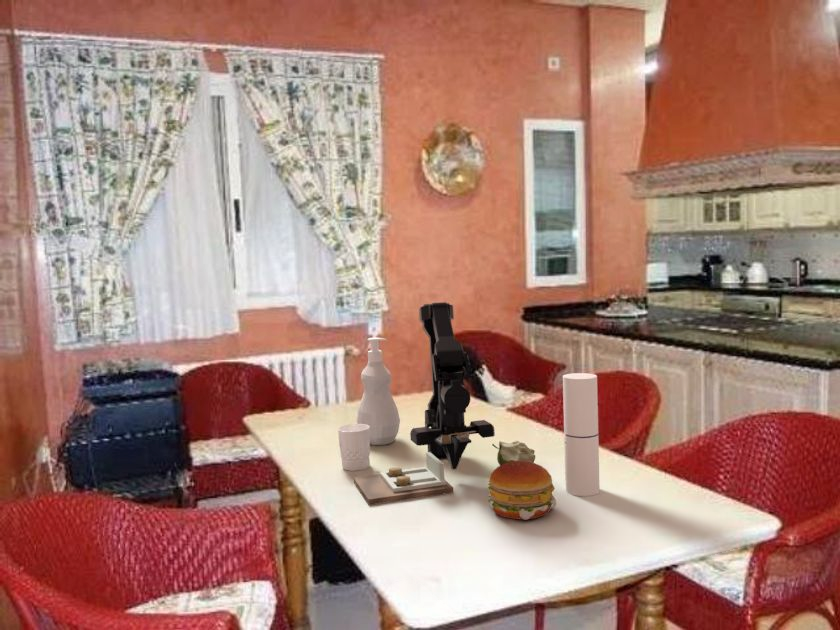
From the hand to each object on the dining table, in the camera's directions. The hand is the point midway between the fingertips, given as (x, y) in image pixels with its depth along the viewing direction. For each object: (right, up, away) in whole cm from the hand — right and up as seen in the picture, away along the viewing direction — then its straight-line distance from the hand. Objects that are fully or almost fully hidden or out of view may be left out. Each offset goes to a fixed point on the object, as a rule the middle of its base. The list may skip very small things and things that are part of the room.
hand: (453, 469), depth 164 cm
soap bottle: (-19, 0, +37) cm, 42 cm away
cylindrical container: (+27, -3, -10) cm, 29 cm away
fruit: (+15, -2, +7) cm, 17 cm away
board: (-12, -3, -3) cm, 13 cm away
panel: (-10, -2, -3) cm, 10 cm away
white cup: (-24, -3, +14) cm, 28 cm away
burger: (+13, -4, -21) cm, 25 cm away
